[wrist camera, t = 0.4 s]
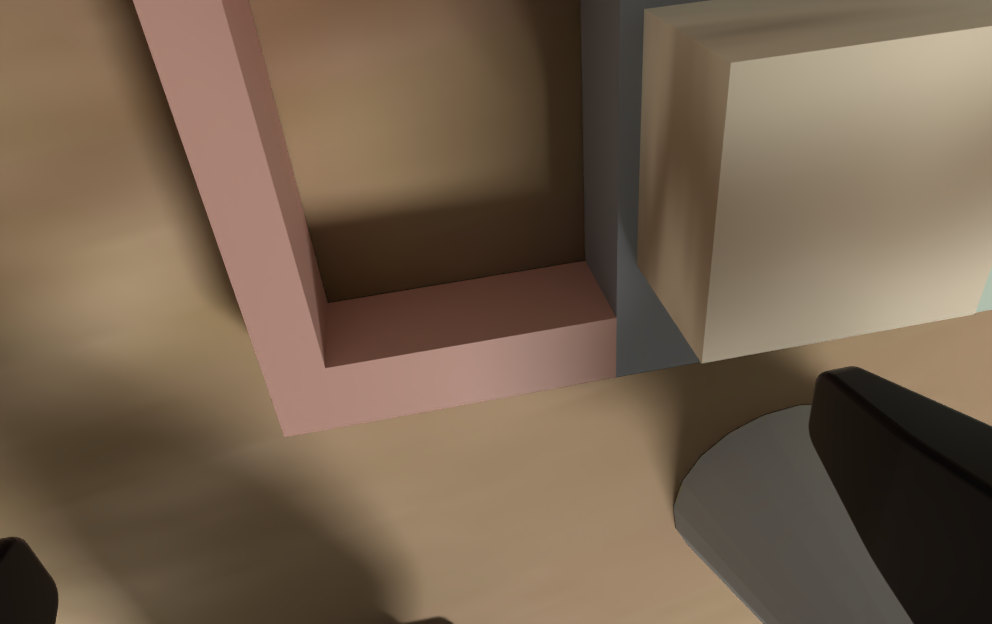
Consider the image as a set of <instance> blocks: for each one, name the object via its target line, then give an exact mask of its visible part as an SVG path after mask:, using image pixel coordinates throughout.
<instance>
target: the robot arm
mask: <svg viewBox="0 0 992 624" xmlns="http://www.w3.org/2000/svg"><path fill="white" fill-rule="evenodd" d="M808 430H809V436H810V439H811V442H812V444H813V446H814V448H815V450H816V452H817V454H818V456H819V458H820V460H821V462H822V464H823V466H824V468H825V470H826V472H827V474H828V476H829V478H830V480H831V482H832V484H833V486H834V488H835V490H836V492H837V494H838V496H839V497H840V499H841V501H842V503H843V505H844V507H845V509H846V511H847V513H848V515H849V517H850V519H851V521H852V523H853V525H854V527H855V529H856V531H857V533H858V535H859V537H860V539H861V540H862V542H863V544H864V546H865V548H866V550H867V551H868V553H869V555H870V557H871V559H872V560H873V562H874V563H875V565H876V567H877V568H878V570H879V571H880V573H881V575H882V576H883V578H884V579H885V581H886V582H887V584H888V586H889V587H890V589H891V590H892V592H893V593H894V595H895V596H896V598H897V599H898V601H899V602H900V604H901V606H902V607H903V609H904V610H905V612H906V613H907V615H908V616H909V618H910V619H911V621H912V622H913V624H992V426H990V425H988V424H986V423H983V422H981V421H979V420H977V419H974V418H972V417H970V416H968V415H965V414H963V413H961V412H959V411H956V410H954V409H952V408H950V407H947V406H945V405H943V404H941V403H938V402H936V401H934V400H932V399H929V398H927V397H925V396H923V395H920V394H918V393H916V392H913V391H911V390H909V389H907V388H904V387H902V386H900V385H898V384H895V383H893V382H891V381H889V380H886V379H884V378H882V377H880V376H877V375H875V374H873V373H871V372H868V371H866V370H864V369H861V368H859V367H854V366H849V367H844V368H839V369H834V370H829V371H825V372H823V373H821V374H820V375H819V376H818V378H817V379H816V383H815V388H814V394H813V399H812V405H811V411H810V416H809V422H808ZM57 610H58V591H57V587H56V584H55V582H54V580H53V578H52V577H51V576H50V574H49V573H48V572H47V570H46V569H45V567H44V566H43V565H42V563H41V562H40V560H39V559H38V558H37V556H36V555H35V553H34V552H33V551H32V549H31V548H30V547H29V545H28V544H27V543H26V542H25V541H24V540H23V539H21V538H18V537H7V538H3V539H0V624H55V623H56V616H57Z"/></svg>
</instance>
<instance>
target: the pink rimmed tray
mask: <svg viewBox="0 0 992 624" xmlns="http://www.w3.org/2000/svg"><path fill="white" fill-rule="evenodd" d="M701 1H709V0H581V54H582V109H583V165H584V221H585V261H581V262H575V263H569V264H563V265H557V266H551V267H544V268H538V269H532V270H526V271H520V272H514V273H508V274H502V275H496V276H490V277H484V278H478V279H472V280H466V281H459V282H453V283H447V284H441V285H435V286H429V287H423V288H417V289H411V290H405V291H399V292H393V293H387V294H380V295H374V296H368V297H362V298H356V299H350V300H344V301H338V302H332V303H328V302H327V299H326V295H325V291H324V287H323V283H322V280H321V276H320V272H319V268H318V264H317V261H316V257H315V253H314V249H313V245H312V242H311V238H310V234H309V230H308V226H307V223H306V219H305V215H304V211H303V207H302V204H301V200H300V196H299V192H298V188H297V185H296V181H295V177H294V173H293V169H292V165H291V162H290V158H289V154H288V150H287V146H286V143H285V139H284V135H283V131H282V127H281V124H280V120H279V116H278V112H277V108H276V105H275V101H274V97H273V93H272V89H271V86H270V82H269V78H268V74H267V70H266V67H265V63H264V59H263V55H262V51H261V48H260V44H259V40H258V36H257V32H256V28H255V25H254V21H253V17H252V13H251V9H250V6H249V2H248V0H133V2H134V5H135V8H136V11H137V14H138V17H139V20H140V23H141V25H142V28H143V31H144V34H145V37H146V40H147V43H148V46H149V48H150V51H151V54H152V57H153V60H154V63H155V66H156V69H157V71H158V74H159V77H160V80H161V83H162V86H163V89H164V92H165V94H166V97H167V100H168V103H169V106H170V109H171V112H172V115H173V117H174V120H175V123H176V126H177V129H178V132H179V135H180V138H181V140H182V143H183V146H184V149H185V152H186V155H187V158H188V161H189V163H190V166H191V169H192V172H193V175H194V178H195V181H196V184H197V186H198V189H199V192H200V195H201V198H202V201H203V204H204V207H205V209H206V212H207V215H208V218H209V221H210V224H211V227H212V230H213V233H214V235H215V238H216V241H217V244H218V247H219V250H220V253H221V256H222V258H223V261H224V264H225V267H226V270H227V273H228V276H229V279H230V281H231V284H232V287H233V290H234V293H235V296H236V299H237V302H238V304H239V307H240V310H241V313H242V316H243V319H244V322H245V325H246V327H247V330H248V333H249V336H250V339H251V342H252V345H253V348H254V350H255V353H256V356H257V359H258V362H259V365H260V368H261V371H262V373H263V376H264V379H265V382H266V385H267V388H268V391H269V394H270V396H271V399H272V402H273V405H274V408H275V411H276V414H277V417H278V419H279V422H280V425H281V428H282V431H283V434H284V437H289V436H294V435H300V434H305V433H311V432H316V431H322V430H327V429H333V428H338V427H344V426H349V425H355V424H360V423H366V422H372V421H377V420H383V419H388V418H394V417H399V416H405V415H410V414H416V413H421V412H427V411H432V410H438V409H444V408H449V407H455V406H460V405H466V404H471V403H477V402H482V401H488V400H493V399H499V398H504V397H510V396H515V395H521V394H527V393H532V392H538V391H543V390H549V389H554V388H560V387H565V386H571V385H576V384H582V383H587V382H593V381H599V380H604V379H610V378H615V377H621V376H626V375H632V374H637V373H643V372H648V371H654V370H659V369H665V368H670V367H676V366H682V365H687V364H693V363H698V362H700V360H699V359H698V357H697V356H696V354H695V353H694V351H693V350H692V348H691V347H690V345H689V344H688V342H687V341H686V339H685V337H684V336H683V334H682V333H681V331H680V330H679V328H678V327H677V325H676V324H675V322H674V321H673V319H672V318H671V316H670V315H669V313H668V312H667V310H666V309H665V307H664V306H663V304H662V303H661V301H660V300H659V298H658V297H657V295H656V294H655V292H654V291H653V289H652V288H651V286H650V285H649V283H648V281H647V280H646V278H645V277H644V275H643V274H642V272H641V271H640V269H639V268H638V266H637V239H638V204H639V170H640V136H641V101H642V67H643V32H644V9H648V8H656V7H663V6H671V5H678V4H686V3H694V2H701ZM986 310H992V267H991V270H990V273H989V276H988V279H987V281H986V284H985V287H984V290H983V293H982V296H981V298H980V301H979V304H978V307H977V310H976V312H980V311H986Z"/></svg>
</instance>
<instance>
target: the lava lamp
mask: <svg viewBox="0 0 992 624" xmlns="http://www.w3.org/2000/svg"><path fill="white" fill-rule="evenodd" d="M810 411H811V405H799V406H795V407H792V408H788V409H785V410H781V411H777V412H774V413H770V414H767V415H763V416H761V417H759V418H757V419H756V420H754V421H752V422H750V423H748V424H746V425H744V426H742V427H740V428H738V429H736V430H734V431H732V432H731V433H729V434H728V435H726V436H725V437H724V438H723V439H722V440H720V441H719V442H718V443H717V444H715V445H714V446H713V447H712V448H711V449H709V450H708V451H707V452H706V453H705V454H703V455H702V456H701V457H700V458H699V460H698V461H697V462H696V464H695V465H694V466H693V468H692V469H691V470H690V472H689V473H688V475H687V476H686V477H685V479H684V480H683V481H682V484H681V487H680V489H679V492H678V495H677V498H676V501H675V504H674V514H675V524H676V529H677V530H678V532H679V533H680V535H681V536H682V538H683V539H684V540H685V542H686V543H687V545H688V546H689V547H690V548H691V549H692V550H693V551H694V552H695V553H696V554H697V555H698V556H699V557H700V558H701V559H702V560H703V561H704V563H705V564H706V565H707V566H708V567H709V568H710V569H711V570H712V571H713V572H714V573H715V574H716V575H717V576H718V577H719V578H720V579H721V580H722V581H723V582H724V583H725V584H726V585H727V586H728V587H729V589H730V590H731V591H732V592H733V593H734V594H735V595H736V596H737V597H738V598H739V599H740V600H741V601H742V602H743V603H744V604H745V605H746V606H747V607H748V608H749V609H750V610H751V611H752V612H753V614H754V615H755V616H756V617H757V618H758V619H759V620H760V621H761V622H762V623H763V624H913V622H912V621H911V619H910V618H909V616H908V615H907V613H906V612H905V610H904V609H903V607H902V606H901V604H900V602H899V601H898V599H897V598H896V596H895V595H894V593H893V592H892V590H891V589H890V587H889V586H888V584H887V582H886V581H885V579H884V578H883V576H882V575H881V573H880V571H879V570H878V568H877V567H876V565H875V563H874V562H873V560H872V559H871V557H870V555H869V553H868V551H867V550H866V548H865V546H864V544H863V542H862V540H861V539H860V537H859V535H858V533H857V531H856V529H855V527H854V525H853V523H852V521H851V519H850V517H849V515H848V513H847V511H846V509H845V507H844V505H843V503H842V501H841V499H840V497H839V496H838V494H837V492H836V490H835V488H834V486H833V484H832V482H831V480H830V478H829V476H828V474H827V472H826V470H825V468H824V466H823V464H822V462H821V460H820V458H819V456H818V454H817V452H816V450H815V448H814V446H813V444H812V442H811V439H810V436H809V430H808V422H809V416H810Z"/></svg>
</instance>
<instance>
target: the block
mask: <svg viewBox="0 0 992 624" xmlns="http://www.w3.org/2000/svg"><path fill="white" fill-rule="evenodd" d="M637 266H638V268H639V269H640V271H641V272H642V274H643V275H644V277H645V278H646V280H647V281H648V283H649V285H650V286H651V288H652V289H653V291H654V292H655V294H656V295H657V297H658V298H659V300H660V301H661V303H662V304H663V306H664V307H665V309H666V310H667V312H668V313H669V315H670V316H671V318H672V319H673V321H674V322H675V324H676V325H677V327H678V328H679V330H680V331H681V333H682V334H683V336H684V337H685V339H686V341H687V342H688V344H689V345H690V347H691V348H692V350H693V351H694V353H695V354H696V356H697V357H698V359H699V360H700V362H701V363H707V362H713V361H718V360H724V359H729V358H735V357H741V356H746V355H752V354H757V353H763V352H768V351H774V350H779V349H785V348H790V347H796V346H801V345H807V344H812V343H818V342H823V341H829V340H835V339H840V338H846V337H851V336H857V335H862V334H868V333H873V332H879V331H884V330H890V329H895V328H901V327H906V326H912V325H917V324H923V323H929V322H934V321H940V320H945V319H951V318H956V317H962V316H967V315H973V314H975V313H976V310H977V307H978V304H979V301H980V298H981V296H982V293H983V290H984V287H985V284H986V281H987V279H988V276H989V273H990V270H991V267H992V0H709V1H701V2H694V3H686V4H678V5H671V6H663V7H656V8H648V9H644V32H643V67H642V101H641V136H640V170H639V204H638V239H637Z"/></svg>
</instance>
